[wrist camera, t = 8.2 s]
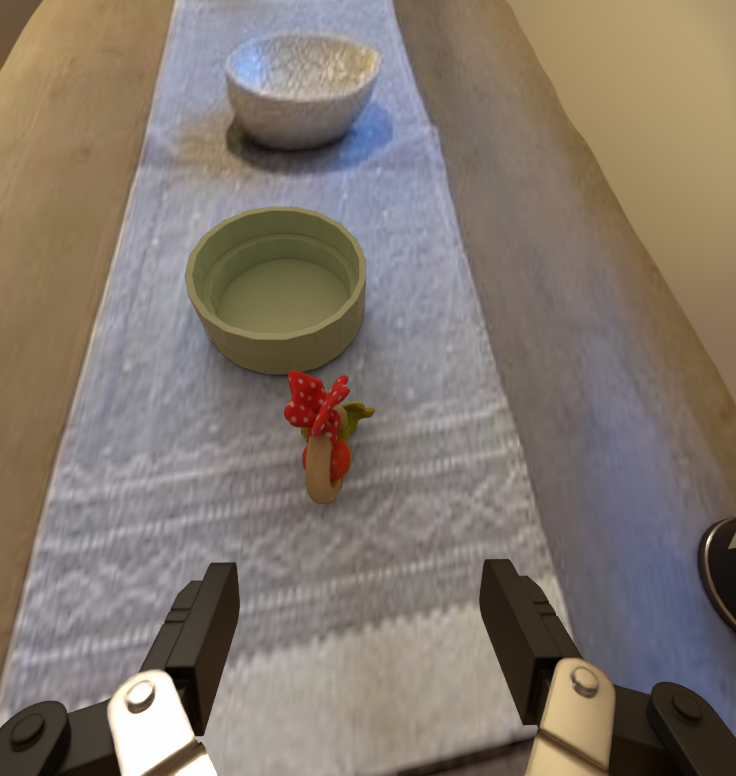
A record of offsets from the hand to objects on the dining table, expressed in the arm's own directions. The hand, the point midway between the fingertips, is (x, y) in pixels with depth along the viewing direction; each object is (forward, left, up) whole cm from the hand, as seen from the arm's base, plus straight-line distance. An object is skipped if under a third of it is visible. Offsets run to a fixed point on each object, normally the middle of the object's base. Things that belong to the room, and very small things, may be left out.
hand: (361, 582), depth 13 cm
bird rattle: (+10, +1, -18) cm, 21 cm away
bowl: (+25, +6, -18) cm, 32 cm away
